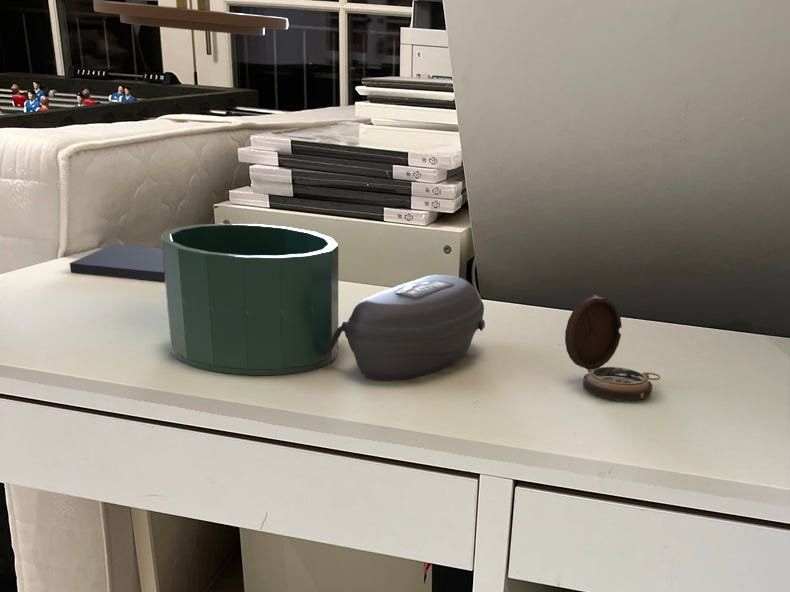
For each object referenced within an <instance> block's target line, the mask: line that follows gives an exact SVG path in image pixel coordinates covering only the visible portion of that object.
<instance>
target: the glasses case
mask: <svg viewBox="0 0 790 592" xmlns="http://www.w3.org/2000/svg"><path fill="white" fill-rule="evenodd" d="M484 312H485V306H484V302H483V299H481V297H480V296H479V295H478V293H477V290H476V289H475V287H474V286H473V285H472V284H471V283H470V282H468V280H466V279H465V278H461V277H458V276H455V275H447V274H433V275H432V274H431V275H427V276H424V277H421V278H417V279H415V280H412V281H408V282H406V283H402V284H399V285H396V286H394V287H391V288H388V289H385V290H383V291H381V292H378V293H376V294H373V295H371V296H369V297H366V298H364V299H362V300H361V301H359V302H358V303H357V304H356V305H355V307H354V308H353V310H352V312H351V315H350V316H349V318H348V320H343V321H342V324H341V325H340V326H338V328H337V329H336V331H335V333H334V335H333V337H332V339H331V341H330V343H329V344H328V346H327V348H326V350H325V351H324V356H328V355H329V354H330V352H331V351H332V349H333V347H334V345H335V343H336V342H337V340H338V341H339V338H340V337H341V334H342V333H343V332H344V335H345V338H346V339H347V343H348V345H349V348H350V350H351V351H352V353H353V356H354V359H355V362H356V365H357V367H358V370H359V372H360V373H361V374H362V375H363V376H364V377H366V378H368V379H372V380H378V381H379V380H381V381H400V380H408V379H413V378H418V377H421V376H425V375H429V374H431V373H435V372H437V371H441V370H443V369H446V368H448V367H449V366H452V364H454V363H456V362H457V361H459V360H460V359H462V358H463V357H464V356H465V355H466V354H467V353H468V352H469V349H470V347H471V345H472V341H473V338H474V336H475V334H476V332H477V331H478V330H480V332H483V330H484V329H485V327H486V322H485V319H483V318H484Z"/></svg>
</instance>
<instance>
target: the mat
mask: <svg viewBox="0 0 790 592" xmlns="http://www.w3.org/2000/svg"><path fill="white" fill-rule="evenodd" d="M69 268H70V273H74V274H83V275H93V276H101V277H102V276H103V277H113V278H123V279H133V280H141V281H143V280H144V281H151V282H163V283H165V276H164V264H163V253H162V248H160V247H149V246H139V245H130V244H129V245H128V244H118V243H112V244H110V245H108V246H105V247H103V248H100V249H99V250H96V251H94V252H91V253H89V254H87V255H85V256H83V257H80V258H78V259H75V260H73V261H72V262H69Z"/></svg>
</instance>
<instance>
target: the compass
mask: <svg viewBox="0 0 790 592" xmlns="http://www.w3.org/2000/svg"><path fill="white" fill-rule="evenodd" d="M622 326H623V325H622V317H621V314H620V312H619V309H618V307H617V306H616V305H615V304H614V302H613V301H612V300H609V299H608V298H606V297H601V296H599V295H593V296H591V297H587V298H585V299H584V300H582V301H581V302H579V303H578V304H577V305H576V307H574V309H573V310H572V312H571V314H570V316H569V317H568V320H567V323H566V327H565V331H564V332H565V333H564V343H565V348H566V352H567V354H568V357H569V359H570V360H571V361H572V362H573V364H575V365H576V366H578V367H580V368H583V369H586V370H587V373H586V374H585V375H583V377H582V384H581V385H582V388H584V390H586V391H587V392H588V393H590V394H592V395H594V396H597V397H600V398H601V397H602V398H603V399H609V400H615V401H616V400H617V401H638V400H639V401H640V400H643V399H645V398H647V397H649V396H650V395H651V394H652V391H653V386H654V385H653V384H652V381H658V380H660V379H661V375H660V374H657V373H655V372H639V371H636V370H634V369H631V368H625V367H619V366H618V367H617V366H604V365H606V364H607V363H608V362H609V361H610V360H611V359H612V357H613V356H614V355H615V353H616V351H617V349H618V347H619V344H620V341H621V336H622V333H620V329H621V328H623V327H622ZM650 375H652V376H656V377H650ZM649 380H650V381H649Z"/></svg>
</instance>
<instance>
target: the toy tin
mask: <svg viewBox="0 0 790 592" xmlns="http://www.w3.org/2000/svg"><path fill="white" fill-rule="evenodd" d="M160 241H161V249H162V253H163V264H164V276H165V282H164V286H165V296H166V307H167V319H168V320H167V321H168V330H169V331H168V332H169V340H170V341H169V342H170V347H171V349H170V350H171V353H172V355H173V357H175V358H176V359H177V360H179V361H180V362H182V363H184V364H187V365H189V366H192V367H194V368H198V369H201V370H205V371H211V372H216V373H221V374H222V373H223V374H230V375H240V376H241V375H242V376H279V375H290V374H297V373H303V372H304V373H305V372H308V371H312V370H313V371H314V370H316V369H319V368H323V367H325V366H327V365H329V364H330V363H332V362H333V361H334V360H336V357H337V355H338V353H337V352H338V350H339V339H338V340H337V342H336V343H335V345H334V347H333V349H332V351H331V352H330V354H329V355H328V356H324V351H325V350H326V348H327V346H328V344H329V343H330V341H331V339H332V337H333V335H334V333H335V331H336V329H337V328H339V244H338V243H337V242H336V241H335V239H333V238H332V237H330V236H327V235H324V234H321V233H318V232H316V231H312V230H311V231H310V230H305V229H300V228H295V227H294V228H293V227H288V226H281V225H280V226H279V225H271V224H270V225H269V224H257V223H252V224H251V223H205V224H193V225H187V226H181V227H174V228H171V229H169V230H167V231H164V232H163V233H161V234H160Z"/></svg>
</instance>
